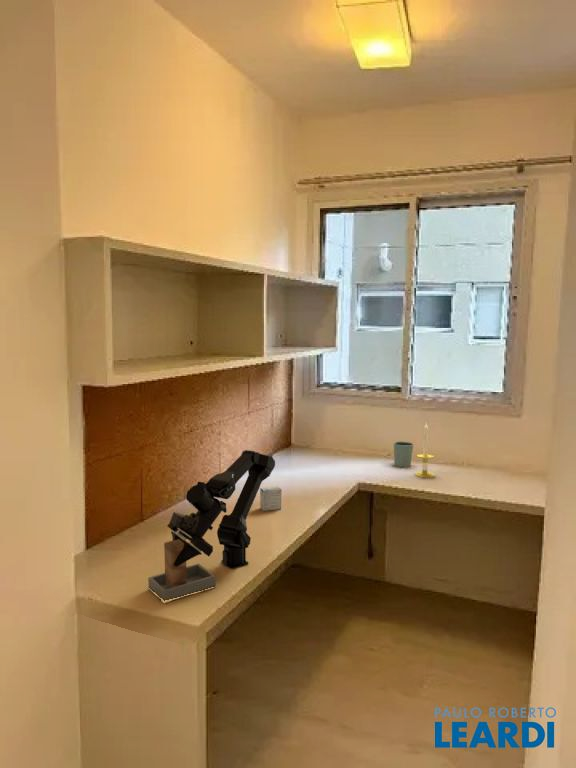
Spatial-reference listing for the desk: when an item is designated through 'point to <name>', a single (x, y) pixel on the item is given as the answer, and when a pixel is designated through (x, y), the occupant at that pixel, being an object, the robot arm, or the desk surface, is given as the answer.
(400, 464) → the green cup
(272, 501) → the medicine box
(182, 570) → the walnut block
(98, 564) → the desk surface
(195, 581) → the tray
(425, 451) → the candle
